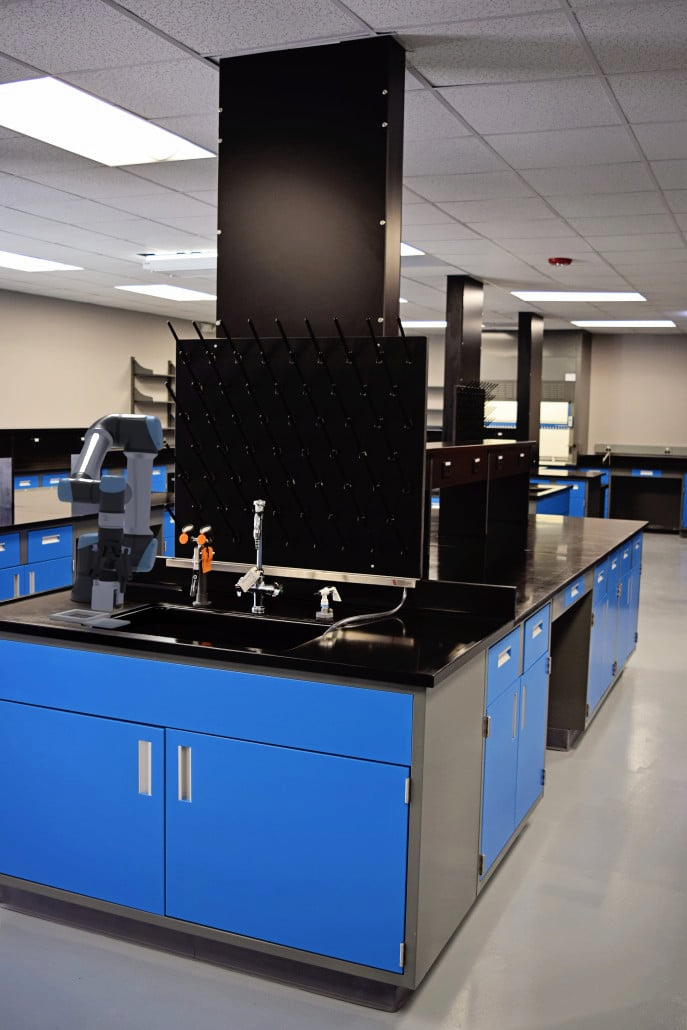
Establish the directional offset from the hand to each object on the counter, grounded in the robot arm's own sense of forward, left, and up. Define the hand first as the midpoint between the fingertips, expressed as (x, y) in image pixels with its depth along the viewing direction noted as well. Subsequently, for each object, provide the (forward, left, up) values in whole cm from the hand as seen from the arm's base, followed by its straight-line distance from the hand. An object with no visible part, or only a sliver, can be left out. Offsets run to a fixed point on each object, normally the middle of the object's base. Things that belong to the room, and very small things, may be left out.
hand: (107, 602), depth 285 cm
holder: (-3, -12, -7) cm, 14 cm away
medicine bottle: (0, 0, -2) cm, 2 cm away
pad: (0, 0, -7) cm, 7 cm away
